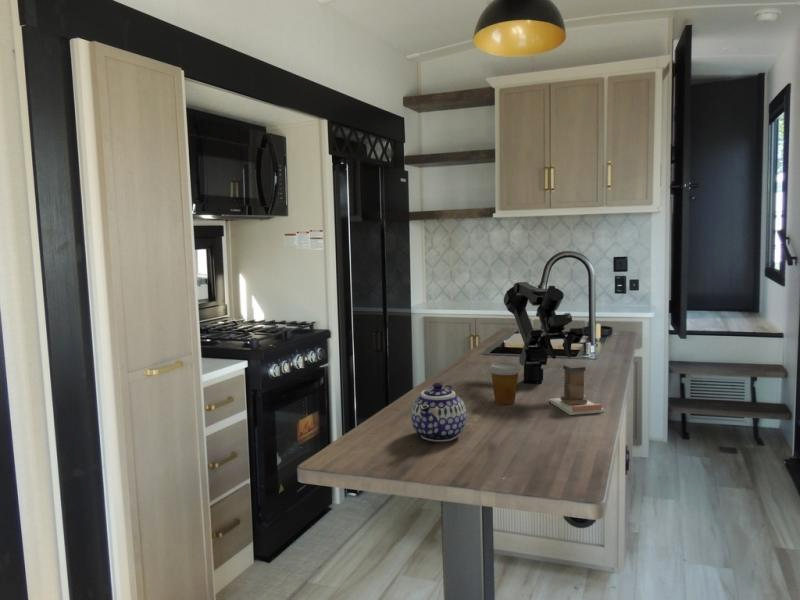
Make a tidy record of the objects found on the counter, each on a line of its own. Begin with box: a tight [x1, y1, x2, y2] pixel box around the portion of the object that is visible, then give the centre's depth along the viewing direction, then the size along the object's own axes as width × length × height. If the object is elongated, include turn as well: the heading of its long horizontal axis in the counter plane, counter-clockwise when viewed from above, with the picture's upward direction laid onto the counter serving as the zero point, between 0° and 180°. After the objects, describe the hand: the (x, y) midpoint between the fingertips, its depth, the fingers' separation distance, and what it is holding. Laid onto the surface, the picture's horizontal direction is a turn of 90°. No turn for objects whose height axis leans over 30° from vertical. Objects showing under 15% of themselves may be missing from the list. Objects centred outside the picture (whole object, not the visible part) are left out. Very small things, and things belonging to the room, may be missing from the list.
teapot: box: [410, 382, 467, 442], centre depth 181 cm, size 25×15×15 cm, turn 155°
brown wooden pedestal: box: [560, 363, 588, 405], centre depth 209 cm, size 6×6×11 cm
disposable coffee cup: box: [489, 362, 521, 405], centre depth 215 cm, size 10×10×12 cm
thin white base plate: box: [549, 397, 605, 416], centre depth 208 cm, size 15×11×2 cm
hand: (562, 357), depth 217 cm, fingers open, 5 cm apart
